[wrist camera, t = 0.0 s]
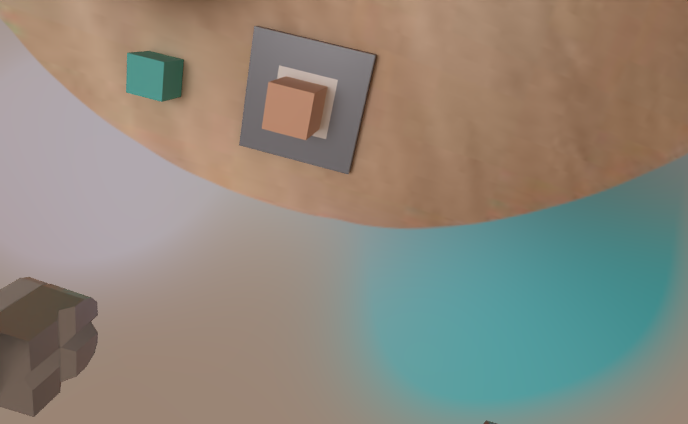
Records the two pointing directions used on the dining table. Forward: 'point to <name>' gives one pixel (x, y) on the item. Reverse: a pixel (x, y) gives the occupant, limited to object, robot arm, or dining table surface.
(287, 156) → the baseplate
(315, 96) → the terracotta block
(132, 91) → the teal block
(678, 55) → the dining table surface
